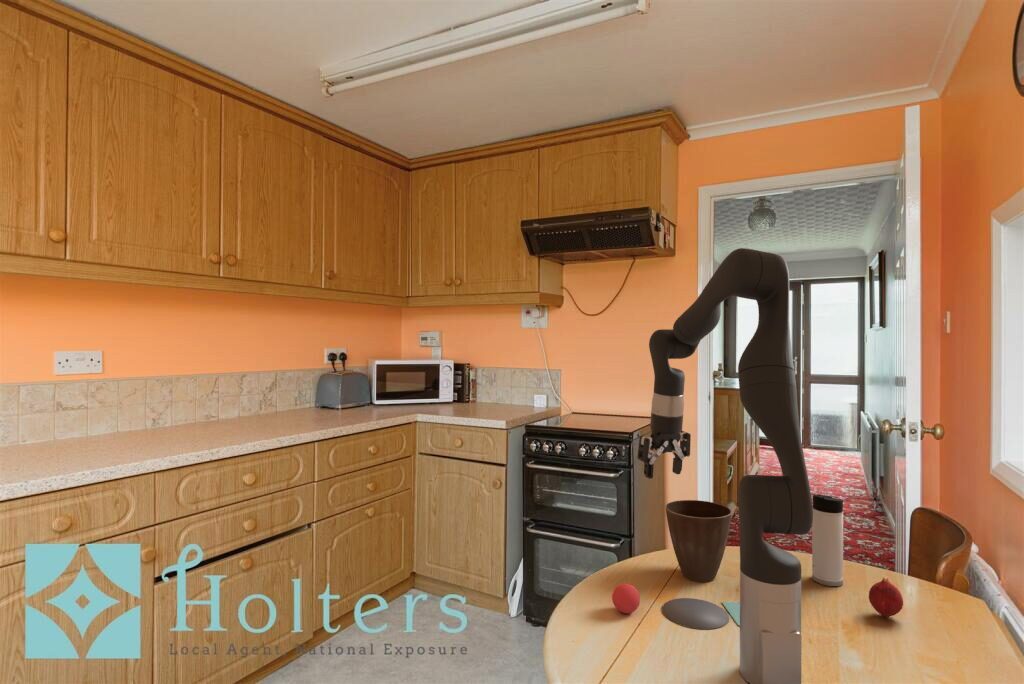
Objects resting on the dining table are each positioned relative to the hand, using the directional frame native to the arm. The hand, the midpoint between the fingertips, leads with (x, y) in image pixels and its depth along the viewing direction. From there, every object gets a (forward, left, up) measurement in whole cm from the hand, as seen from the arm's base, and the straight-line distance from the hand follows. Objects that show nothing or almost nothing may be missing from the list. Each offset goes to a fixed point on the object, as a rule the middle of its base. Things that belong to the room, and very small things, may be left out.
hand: (662, 475), depth 140 cm
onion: (-24, -39, -23) cm, 51 cm away
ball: (-24, +13, -20) cm, 34 cm away
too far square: (-24, -13, -23) cm, 35 cm away
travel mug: (-7, -36, -23) cm, 43 cm away
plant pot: (-5, -7, -23) cm, 24 cm away
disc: (-24, -1, -23) cm, 33 cm away
